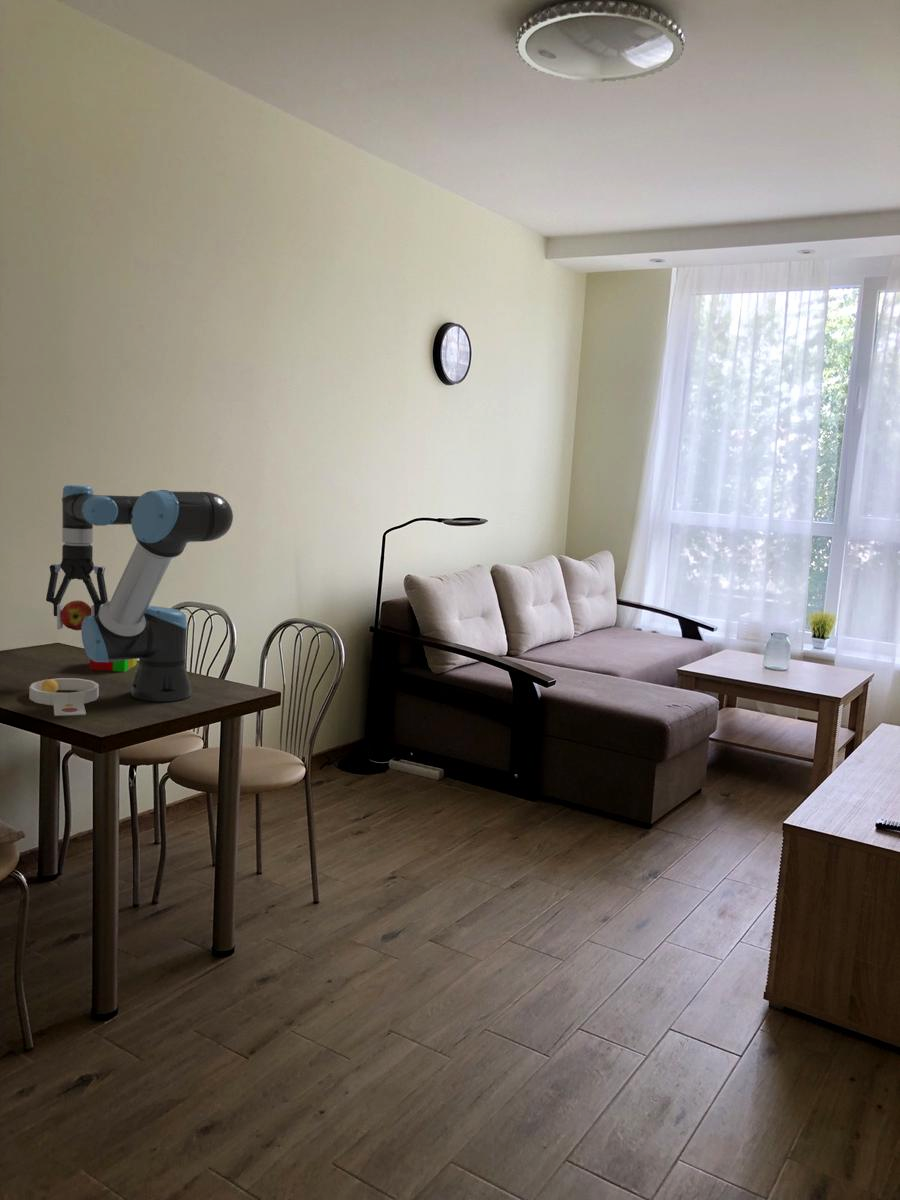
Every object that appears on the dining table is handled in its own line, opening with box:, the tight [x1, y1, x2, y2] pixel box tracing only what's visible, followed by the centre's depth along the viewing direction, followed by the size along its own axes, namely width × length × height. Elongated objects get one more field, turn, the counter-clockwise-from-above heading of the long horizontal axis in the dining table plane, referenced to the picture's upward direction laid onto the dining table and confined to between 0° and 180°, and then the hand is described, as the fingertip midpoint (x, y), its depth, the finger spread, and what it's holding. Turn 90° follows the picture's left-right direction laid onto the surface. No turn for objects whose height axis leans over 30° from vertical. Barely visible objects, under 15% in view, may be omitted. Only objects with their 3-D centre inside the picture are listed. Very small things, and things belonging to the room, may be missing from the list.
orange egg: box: [41, 678, 59, 693], centre depth 255 cm, size 4×4×4 cm
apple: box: [61, 599, 91, 631], centre depth 267 cm, size 8×8×8 cm
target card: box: [53, 702, 87, 717], centre depth 244 cm, size 10×7×1 cm
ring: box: [28, 677, 100, 706], centre depth 254 cm, size 16×16×3 cm
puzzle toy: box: [89, 658, 138, 673], centre depth 290 cm, size 10×10×10 cm
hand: (77, 629), depth 267 cm, fingers closed on apple, 8 cm apart
